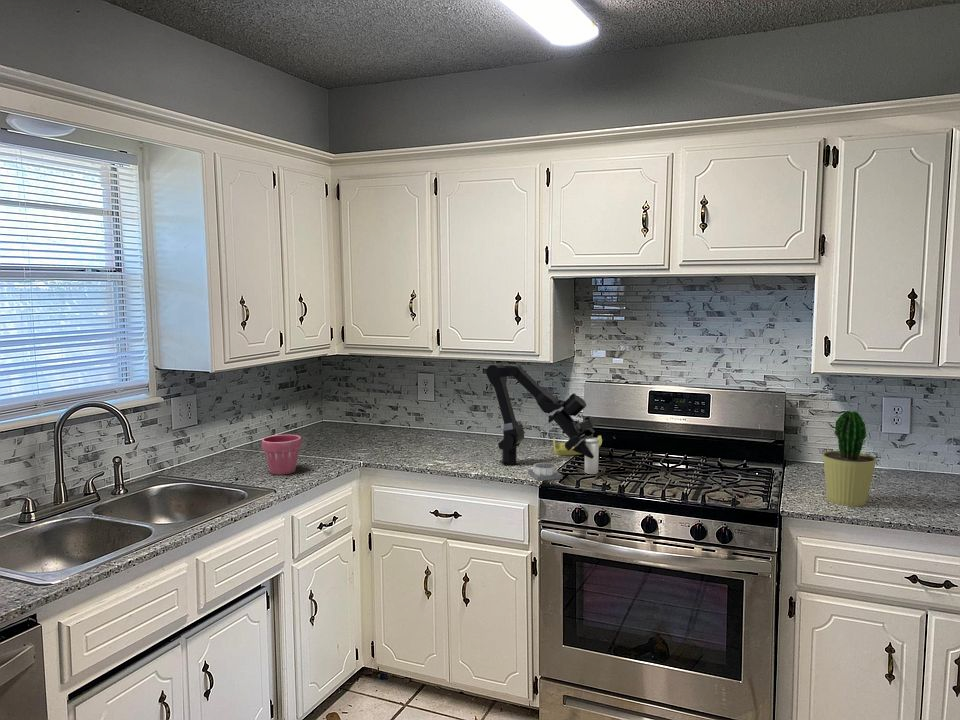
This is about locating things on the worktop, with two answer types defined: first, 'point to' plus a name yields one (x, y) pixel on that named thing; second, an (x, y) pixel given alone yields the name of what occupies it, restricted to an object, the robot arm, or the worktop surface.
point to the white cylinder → (593, 446)
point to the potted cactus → (848, 463)
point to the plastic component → (561, 450)
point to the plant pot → (281, 452)
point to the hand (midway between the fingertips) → (595, 456)
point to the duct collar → (544, 472)
